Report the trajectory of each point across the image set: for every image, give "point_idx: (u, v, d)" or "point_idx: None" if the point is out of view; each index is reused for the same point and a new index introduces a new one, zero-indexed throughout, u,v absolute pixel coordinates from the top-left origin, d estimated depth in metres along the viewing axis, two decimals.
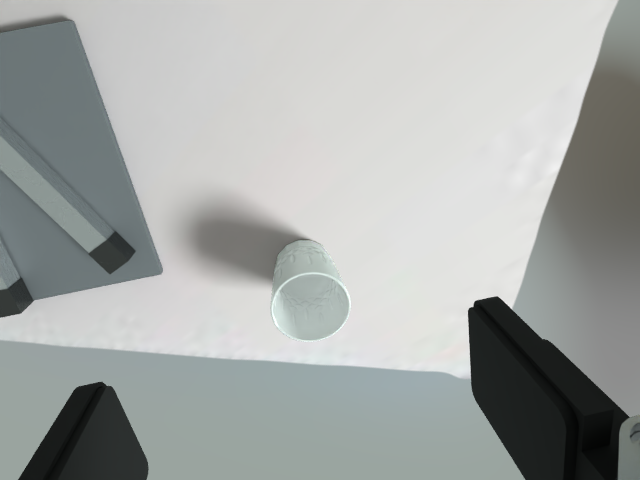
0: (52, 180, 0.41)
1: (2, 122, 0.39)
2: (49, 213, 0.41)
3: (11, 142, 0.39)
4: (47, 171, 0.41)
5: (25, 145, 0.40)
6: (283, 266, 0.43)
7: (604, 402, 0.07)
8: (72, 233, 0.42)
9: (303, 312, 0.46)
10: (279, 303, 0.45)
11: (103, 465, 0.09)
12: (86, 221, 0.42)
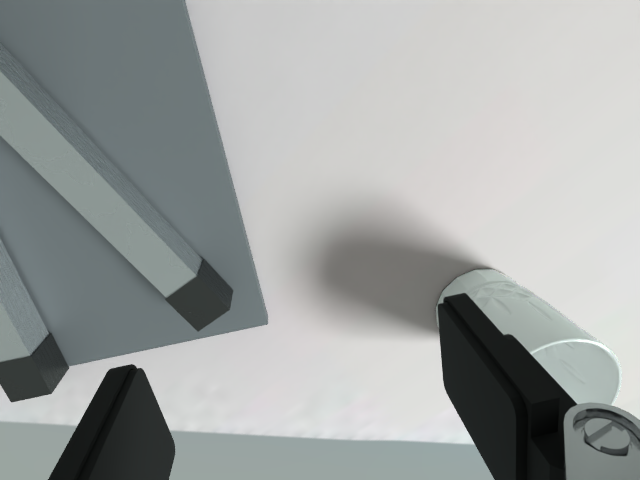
0: (110, 175, 0.23)
1: (25, 73, 0.22)
2: (104, 233, 0.24)
3: (41, 107, 0.21)
4: (101, 161, 0.24)
5: (64, 115, 0.23)
6: None
7: (551, 391, 0.07)
8: (141, 266, 0.25)
9: None
10: None
11: (137, 442, 0.09)
12: (166, 246, 0.24)
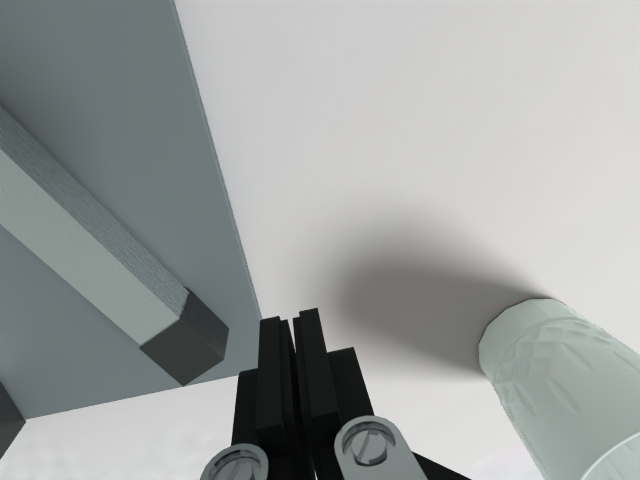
0: (60, 189, 0.17)
1: None
2: (54, 266, 0.18)
3: None
4: (49, 169, 0.17)
5: None
6: (561, 375, 0.20)
7: (335, 405, 0.08)
8: (106, 307, 0.19)
9: None
10: None
11: (297, 383, 0.10)
12: (138, 281, 0.18)
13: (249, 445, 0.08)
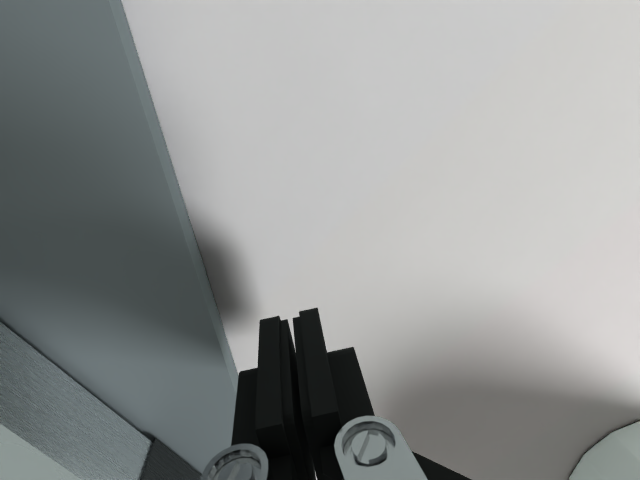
0: None
1: None
2: None
3: None
4: None
5: None
6: None
7: (335, 405, 0.08)
8: None
9: None
10: None
11: (297, 383, 0.10)
12: (54, 464, 0.11)
13: (249, 445, 0.08)
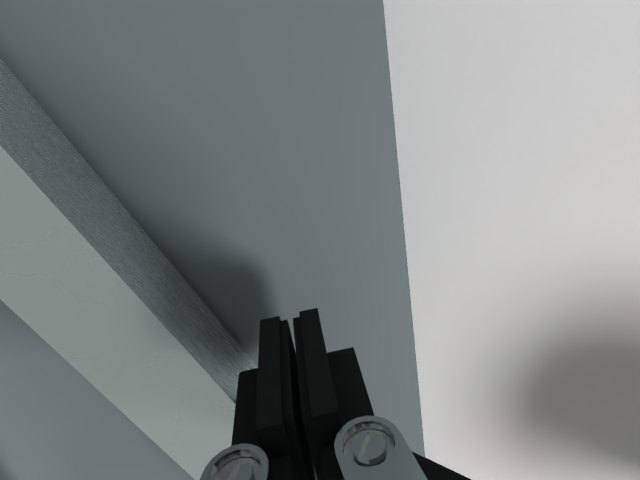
0: (148, 277, 0.10)
1: None
2: (124, 405, 0.10)
3: None
4: (130, 242, 0.10)
5: (51, 131, 0.10)
6: None
7: (335, 405, 0.08)
8: (196, 466, 0.11)
9: None
10: None
11: (297, 383, 0.10)
12: None
13: (249, 445, 0.08)
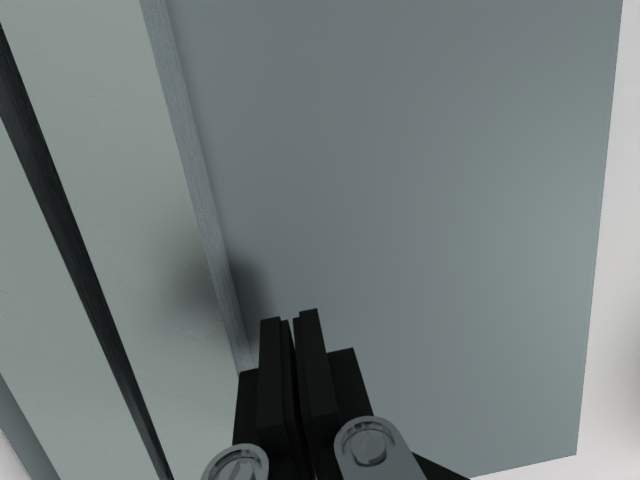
0: (231, 321, 0.11)
1: (174, 53, 0.10)
2: (162, 427, 0.11)
3: (184, 151, 0.09)
4: (226, 284, 0.11)
5: (202, 166, 0.10)
6: None
7: (335, 405, 0.08)
8: None
9: None
10: None
11: (298, 383, 0.10)
12: None
13: (250, 445, 0.08)
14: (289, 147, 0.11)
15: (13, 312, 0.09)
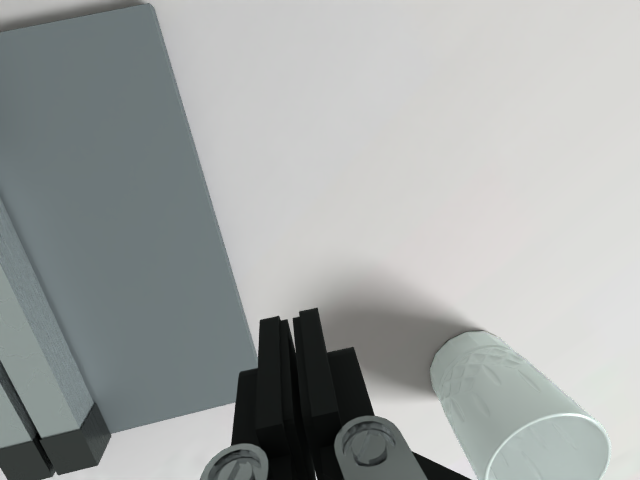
0: (39, 322, 0.25)
1: (3, 214, 0.24)
2: (9, 370, 0.25)
3: (2, 255, 0.23)
4: (37, 306, 0.25)
5: (22, 256, 0.25)
6: (480, 389, 0.27)
7: (335, 405, 0.08)
8: (30, 406, 0.26)
9: None
10: None
11: (297, 383, 0.10)
12: (63, 397, 0.26)
13: (249, 445, 0.08)
14: (63, 245, 0.26)
15: None
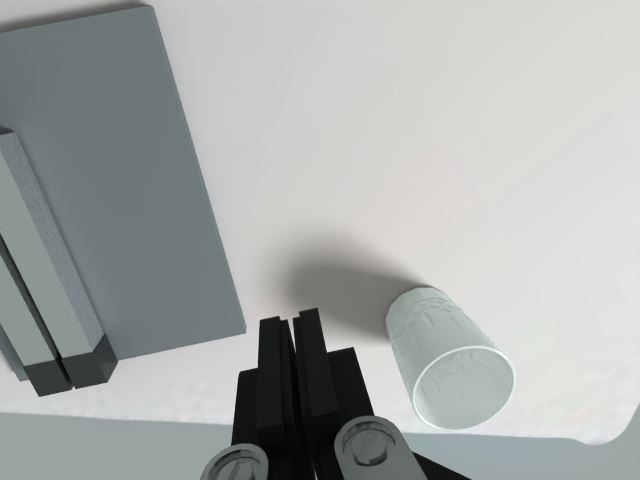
0: (61, 264, 0.31)
1: (31, 176, 0.30)
2: (37, 301, 0.31)
3: (32, 208, 0.29)
4: (59, 251, 0.31)
5: (46, 210, 0.31)
6: (417, 330, 0.33)
7: (336, 405, 0.08)
8: (54, 332, 0.32)
9: (431, 383, 0.36)
10: None
11: (297, 383, 0.10)
12: (79, 325, 0.32)
13: (249, 445, 0.08)
14: (79, 203, 0.31)
15: None
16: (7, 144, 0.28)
